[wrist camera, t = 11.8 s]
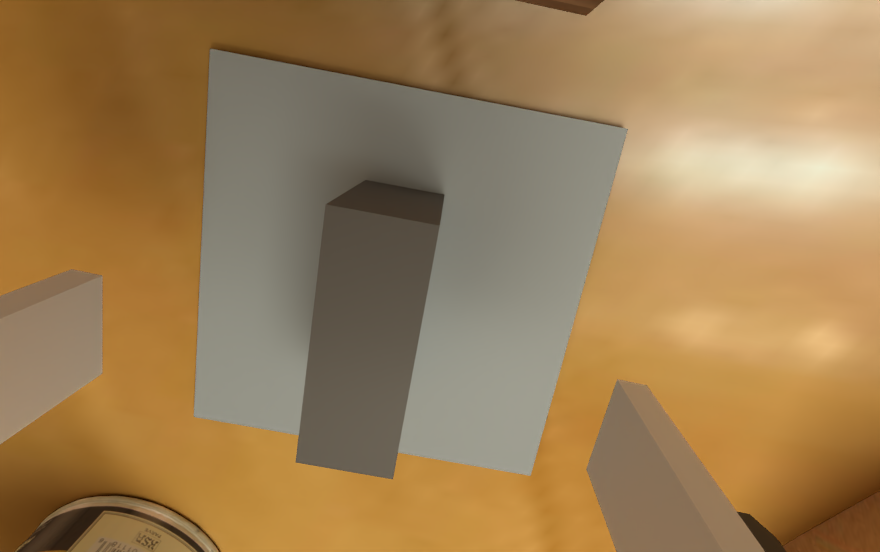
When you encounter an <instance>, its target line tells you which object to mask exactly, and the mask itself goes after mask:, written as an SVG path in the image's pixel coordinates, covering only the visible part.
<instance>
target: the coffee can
mask: <svg viewBox="0 0 880 552" xmlns="http://www.w3.org/2000/svg"><path fill="white" fill-rule="evenodd" d="M15 552H219V551H218V549H217V548H216V546H215V545H214V544H213V542H212V541H211V540H210V539H209V538H208V537H207V536H206V535H205V534H204V533H203V532H202V531H201V530H200V529H199V528H198V527H197V526H195V525H194V524H192V523H191V522H189V521H188V520H186V519H185V518H183V517H182V516H180V515H179V514H177V513H175V512H173V511H171V510H169V509H167V508H165V507H163V506H160V505H158V504H155V503H152V502H148V501H145V500H141V499H137V498H130V497H124V496H96V497H90V498H84V499H80V500H77V501H74V502H72V503H69V504H67V505H65V506H63V507H61V508H59V509H58V510H56V511H55V512H53V513H52V514H50V515H49V516H48V517H47V518H46V519H45V520H44V521H43V522H42V523H41V524H40V525H39V527H38V528H37V529H36V531H35V532H34V533H33V534H32V535H31V536H30V537H29V538H28V539H27V540H26V541H25V542H24V543H23V544H21V545H20V546H19V547H18V548H17V550H16V551H15Z"/></svg>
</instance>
